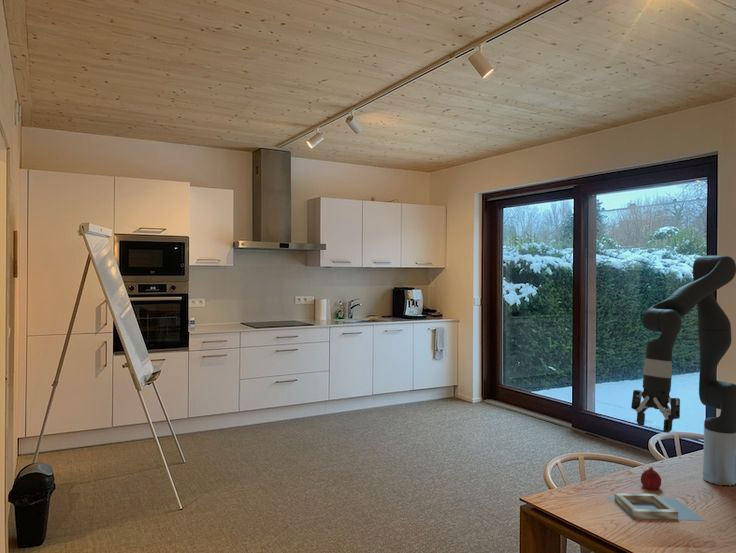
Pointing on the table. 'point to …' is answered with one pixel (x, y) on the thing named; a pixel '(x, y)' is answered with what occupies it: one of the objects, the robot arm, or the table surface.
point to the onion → (651, 479)
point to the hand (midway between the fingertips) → (653, 428)
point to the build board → (682, 510)
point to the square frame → (661, 513)
